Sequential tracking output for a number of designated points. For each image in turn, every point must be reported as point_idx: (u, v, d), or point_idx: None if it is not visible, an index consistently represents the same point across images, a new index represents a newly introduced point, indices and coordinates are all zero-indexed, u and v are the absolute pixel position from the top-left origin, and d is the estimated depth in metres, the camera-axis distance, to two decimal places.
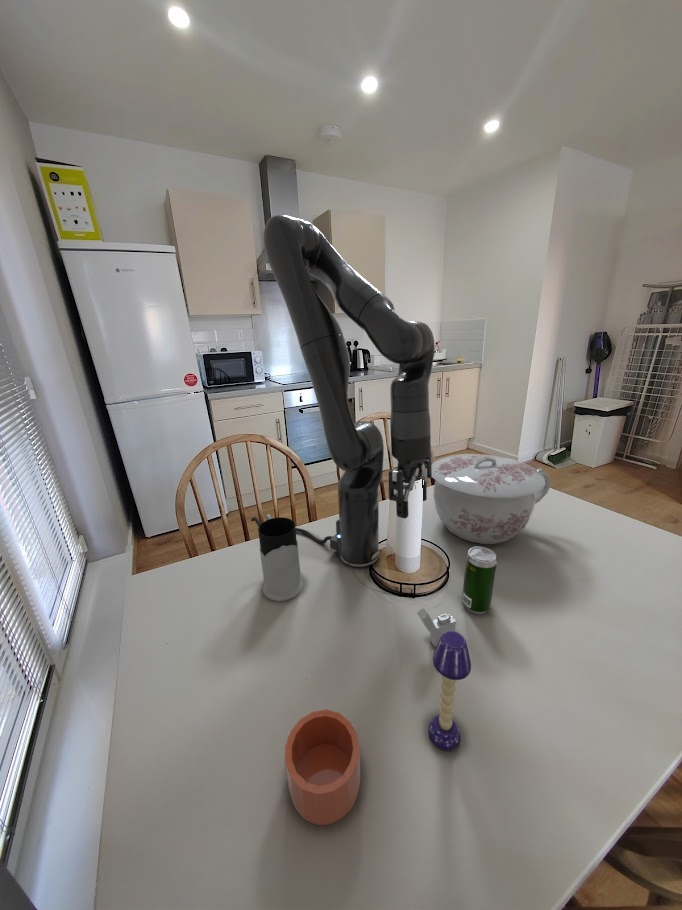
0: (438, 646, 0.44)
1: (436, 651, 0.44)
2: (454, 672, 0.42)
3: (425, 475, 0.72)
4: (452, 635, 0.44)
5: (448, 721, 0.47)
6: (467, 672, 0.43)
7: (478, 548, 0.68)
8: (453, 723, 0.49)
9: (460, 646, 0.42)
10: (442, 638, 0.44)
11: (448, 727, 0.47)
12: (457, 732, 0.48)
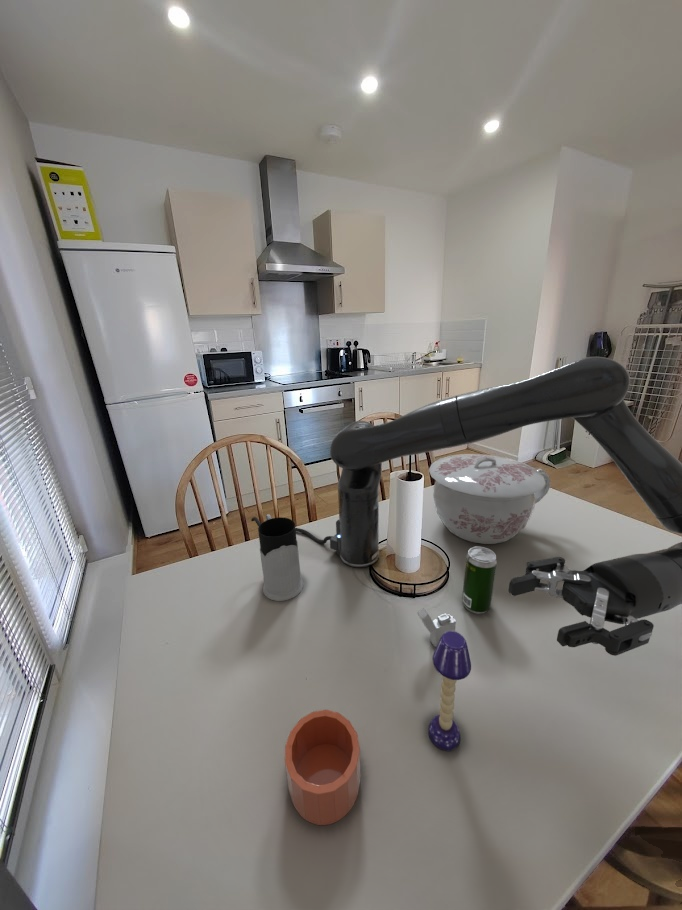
0: (438, 646, 0.44)
1: (436, 651, 0.44)
2: (454, 672, 0.42)
3: None
4: (452, 635, 0.44)
5: (448, 721, 0.47)
6: (467, 672, 0.43)
7: (478, 548, 0.68)
8: (453, 723, 0.49)
9: (460, 646, 0.42)
10: (442, 638, 0.44)
11: (448, 727, 0.47)
12: (457, 732, 0.48)
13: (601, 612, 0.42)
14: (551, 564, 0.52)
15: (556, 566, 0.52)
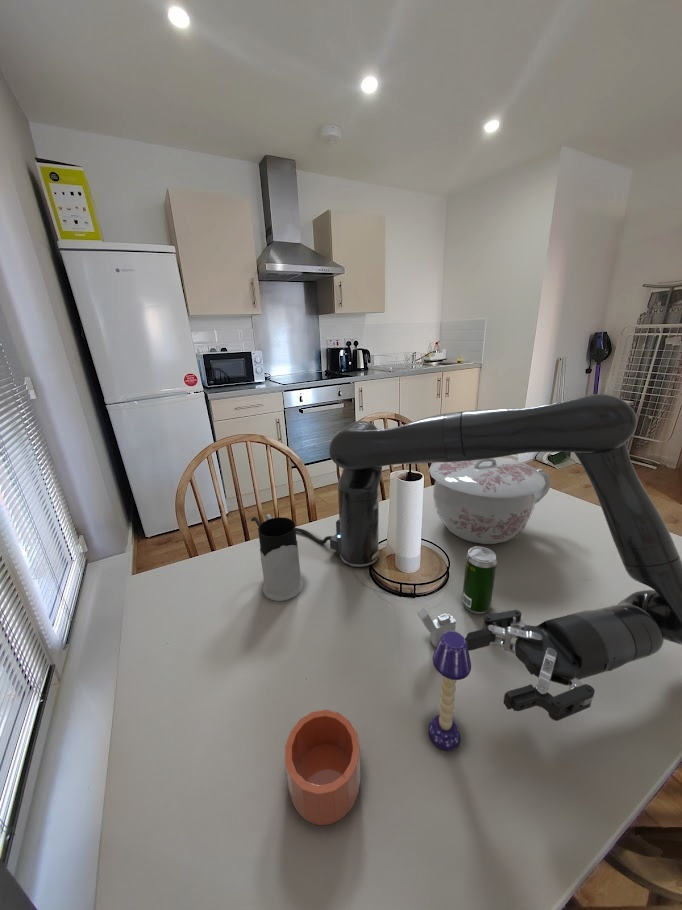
0: (438, 646, 0.44)
1: (436, 651, 0.44)
2: (454, 672, 0.42)
3: None
4: (452, 635, 0.44)
5: (448, 721, 0.47)
6: (467, 672, 0.43)
7: (478, 548, 0.68)
8: (453, 723, 0.49)
9: (460, 646, 0.42)
10: (442, 638, 0.44)
11: (448, 727, 0.47)
12: (457, 732, 0.48)
13: (547, 675, 0.44)
14: (507, 618, 0.53)
15: (512, 620, 0.53)
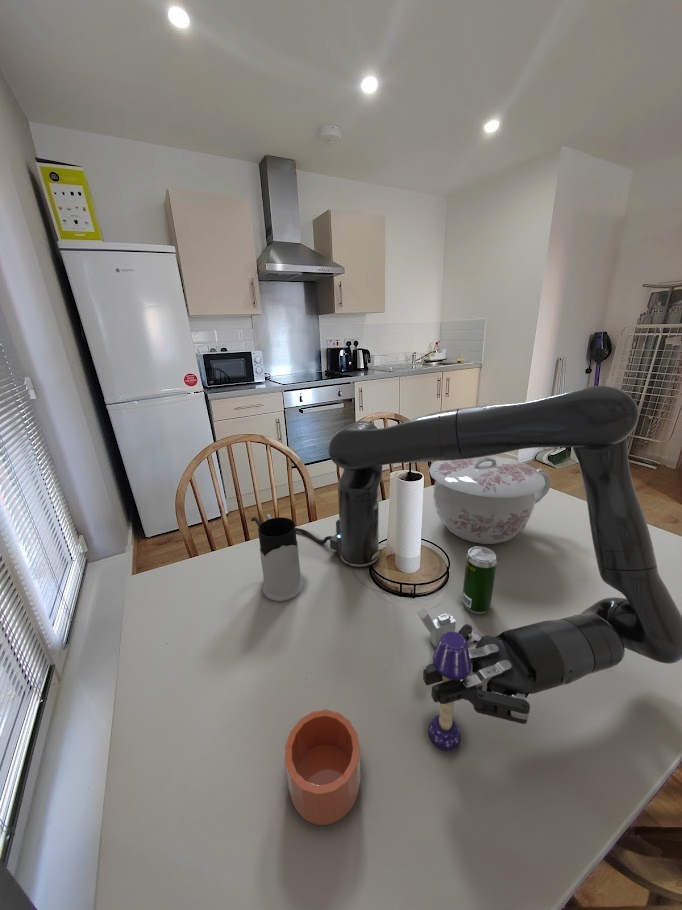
0: (438, 646, 0.44)
1: (436, 651, 0.44)
2: (454, 672, 0.42)
3: None
4: (452, 635, 0.44)
5: (448, 721, 0.47)
6: (467, 672, 0.43)
7: (478, 548, 0.68)
8: (453, 723, 0.49)
9: (460, 647, 0.42)
10: (442, 638, 0.44)
11: (448, 727, 0.47)
12: (457, 732, 0.48)
13: (482, 676, 0.44)
14: (465, 638, 0.50)
15: (468, 637, 0.51)
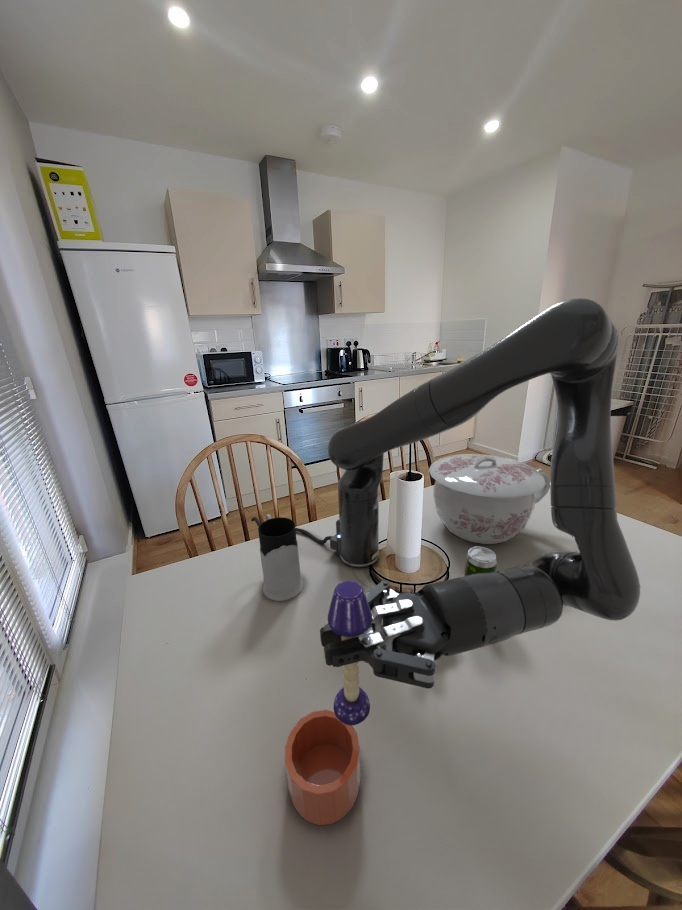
0: (332, 598, 0.36)
1: (330, 604, 0.37)
2: (346, 627, 0.35)
3: None
4: (348, 584, 0.36)
5: (352, 691, 0.39)
6: (363, 628, 0.35)
7: (478, 548, 0.68)
8: (362, 694, 0.41)
9: (353, 596, 0.35)
10: (336, 588, 0.36)
11: (353, 698, 0.40)
12: (365, 703, 0.40)
13: (385, 634, 0.37)
14: (378, 594, 0.43)
15: (383, 594, 0.43)
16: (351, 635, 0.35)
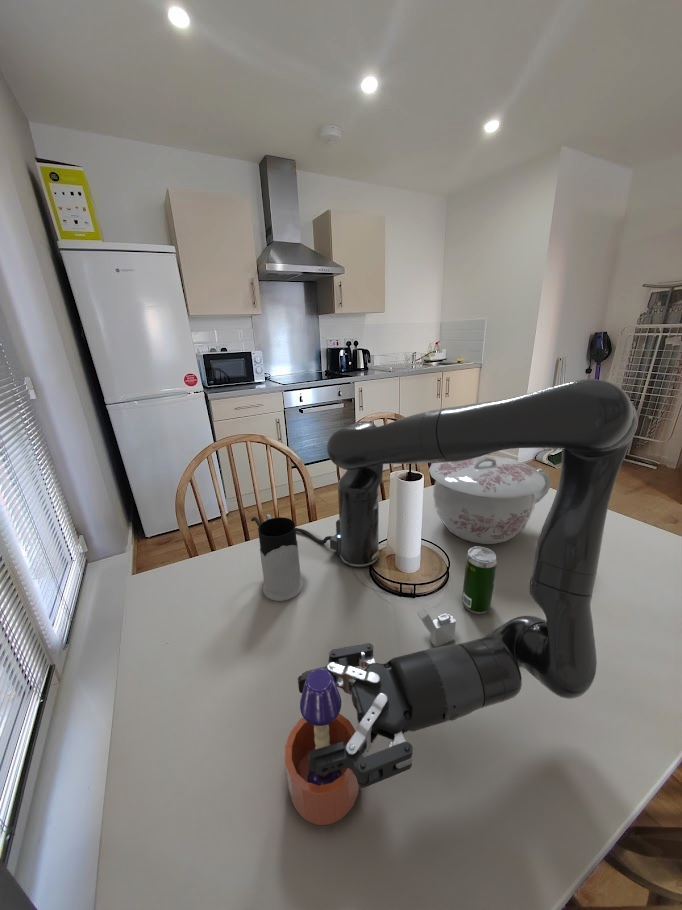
0: (304, 686, 0.39)
1: (302, 692, 0.40)
2: (316, 717, 0.38)
3: None
4: (319, 674, 0.39)
5: None
6: (332, 717, 0.38)
7: (478, 548, 0.68)
8: None
9: (322, 688, 0.38)
10: (307, 678, 0.39)
11: None
12: (337, 778, 0.43)
13: (364, 730, 0.38)
14: (355, 653, 0.47)
15: (361, 656, 0.47)
16: (320, 724, 0.38)
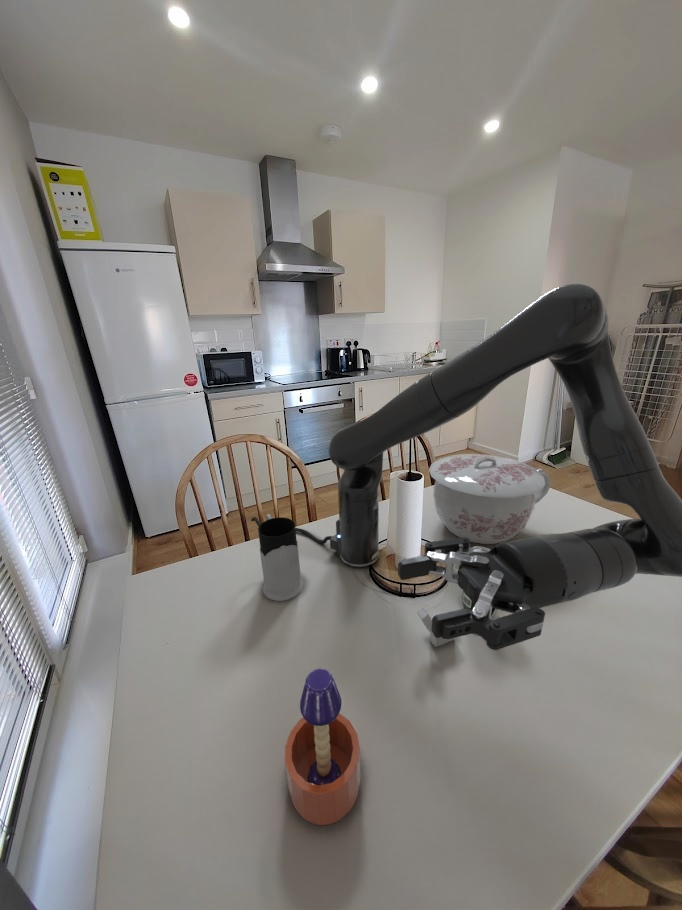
0: (304, 686, 0.39)
1: (302, 692, 0.40)
2: (316, 717, 0.38)
3: None
4: (319, 674, 0.39)
5: (324, 767, 0.42)
6: (332, 717, 0.38)
7: (478, 548, 0.68)
8: (334, 767, 0.44)
9: (322, 688, 0.38)
10: (307, 678, 0.39)
11: (324, 773, 0.42)
12: (337, 778, 0.43)
13: (487, 598, 0.35)
14: (453, 545, 0.44)
15: (458, 547, 0.44)
16: (320, 724, 0.38)
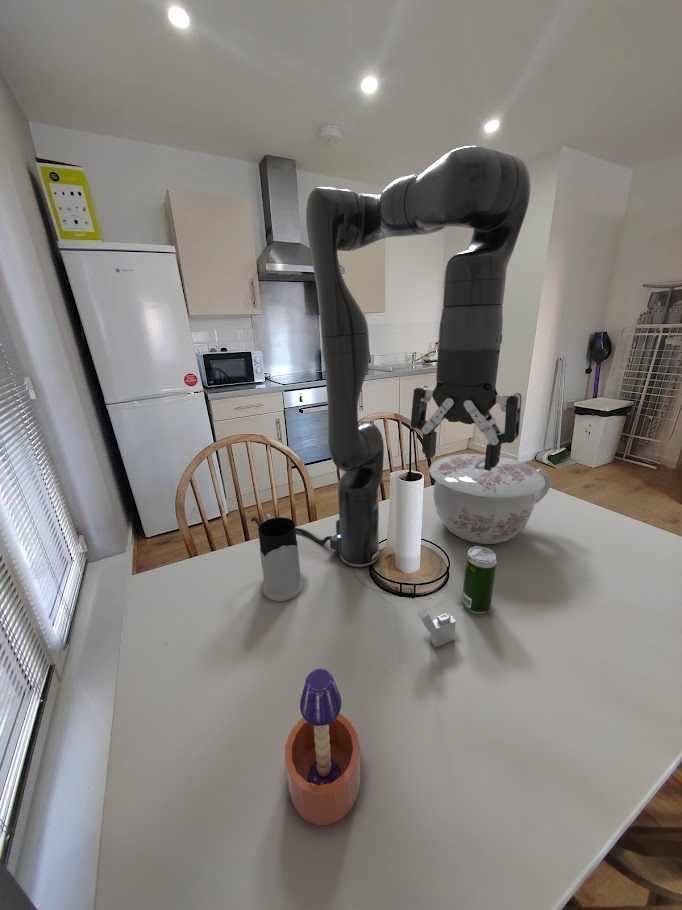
0: (304, 686, 0.39)
1: (302, 692, 0.40)
2: (316, 717, 0.38)
3: None
4: (319, 674, 0.39)
5: (324, 767, 0.42)
6: (332, 717, 0.38)
7: (478, 548, 0.68)
8: (334, 767, 0.44)
9: (322, 688, 0.38)
10: (307, 678, 0.39)
11: (324, 773, 0.42)
12: (337, 778, 0.43)
13: (486, 427, 0.46)
14: (420, 406, 0.51)
15: (423, 401, 0.51)
16: (320, 724, 0.38)
